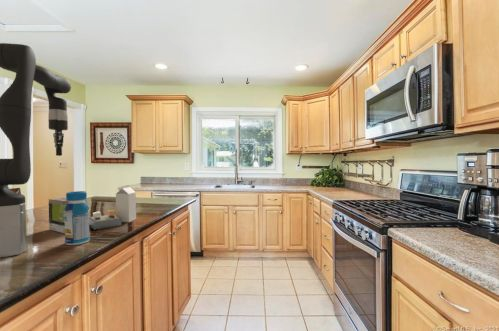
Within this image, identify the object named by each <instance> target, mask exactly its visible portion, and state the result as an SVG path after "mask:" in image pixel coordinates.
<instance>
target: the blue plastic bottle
mask: <svg viewBox="0 0 499 331" xmlns="http://www.w3.org/2000/svg"><path fill="white" fill-rule="evenodd" d="M87 196H88V195H87V191H85V190H84V191H83V190H82V191H79V190H78V191H69V192H66V194H65V197H66V200H67V201H68V204H67V205H66V207H65V209H64V212H65V215H64V220H65V233H64V244H65V245H66V246H78V245H83V244H86V243H88V242H89V241H90V226H89V218H90V217H91V216H90V212H89V209H90V207H89V204H88V203H87V201H86V202H85V200H87Z"/></svg>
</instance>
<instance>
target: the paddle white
mask: <svg viewBox="0 0 499 331" xmlns="http://www.w3.org/2000/svg"><path fill="white" fill-rule="evenodd" d="M100 216H103V215H102V212H101V211H98V210H97V211H95V212H92V217H94V218H96V217H100Z"/></svg>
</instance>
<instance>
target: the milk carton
mask: <svg viewBox="0 0 499 331" xmlns="http://www.w3.org/2000/svg"><path fill="white" fill-rule="evenodd" d="M136 194H137V193H136V191H135V190H134V189H133V188H132V187H131V186H130V184H128V185H121V188H120V189H119V191H117V192H116V193H115V211H116V214H115V215H116V216H118V217H119V218H121V223H131V222H134V221H135V220H137V197H136V196H137V195H136Z"/></svg>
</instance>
